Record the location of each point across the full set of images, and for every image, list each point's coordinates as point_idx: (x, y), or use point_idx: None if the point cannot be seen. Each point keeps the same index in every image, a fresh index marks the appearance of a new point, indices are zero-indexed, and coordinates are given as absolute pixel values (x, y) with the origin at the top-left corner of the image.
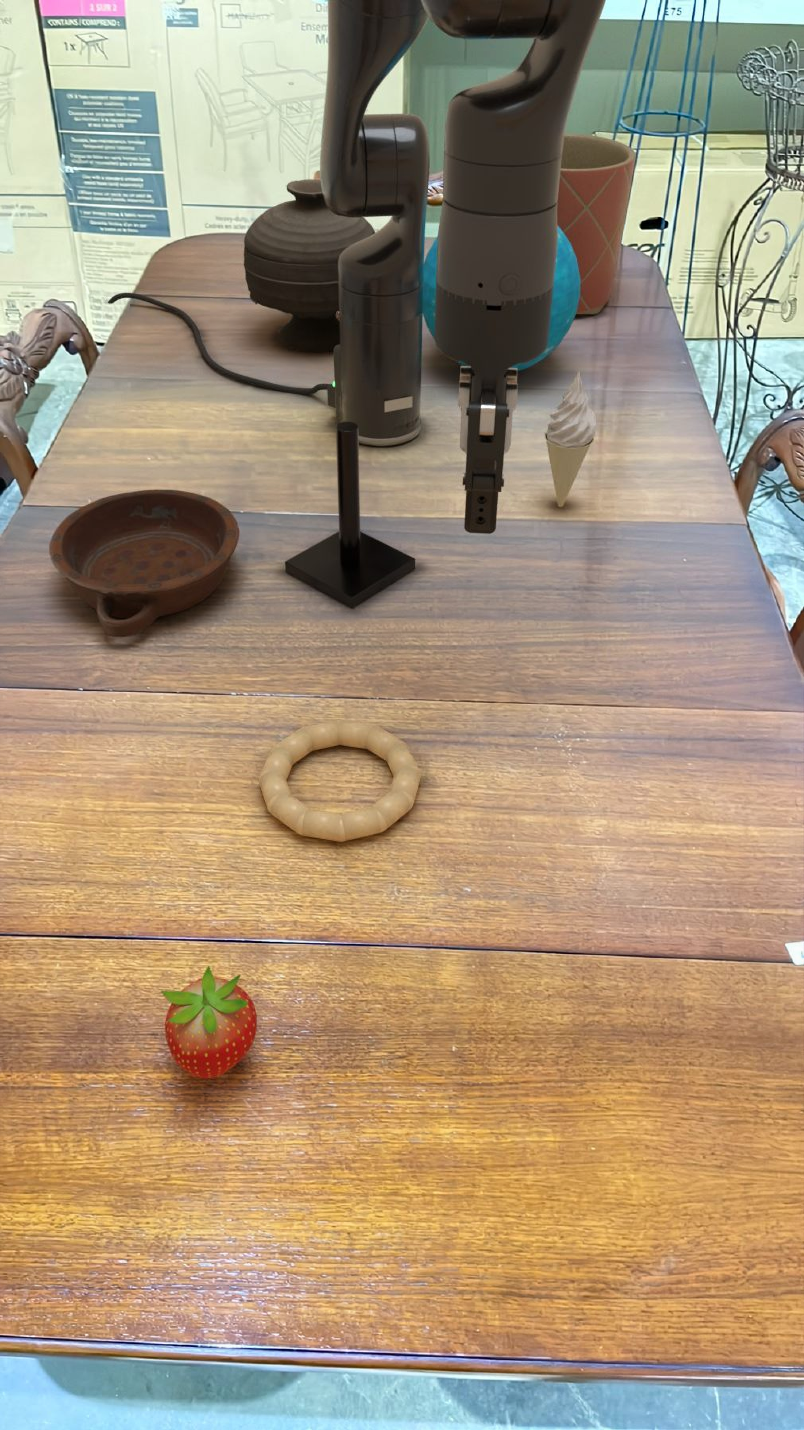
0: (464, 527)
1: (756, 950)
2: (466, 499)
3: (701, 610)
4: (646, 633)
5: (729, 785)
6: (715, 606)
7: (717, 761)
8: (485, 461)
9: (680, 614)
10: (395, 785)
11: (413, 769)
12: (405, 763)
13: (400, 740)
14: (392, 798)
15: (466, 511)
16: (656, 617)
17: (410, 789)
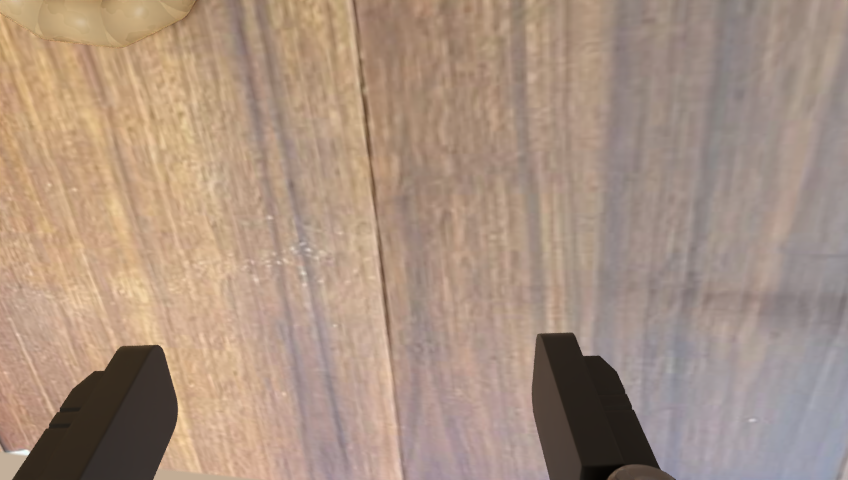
0: (120, 348)
1: (5, 427)
2: (66, 433)
3: None
4: None
5: (255, 428)
6: None
7: (296, 420)
8: (544, 408)
9: None
10: (52, 8)
11: (104, 38)
12: (110, 22)
13: (175, 5)
14: (12, 6)
15: (90, 397)
16: None
17: (55, 36)
